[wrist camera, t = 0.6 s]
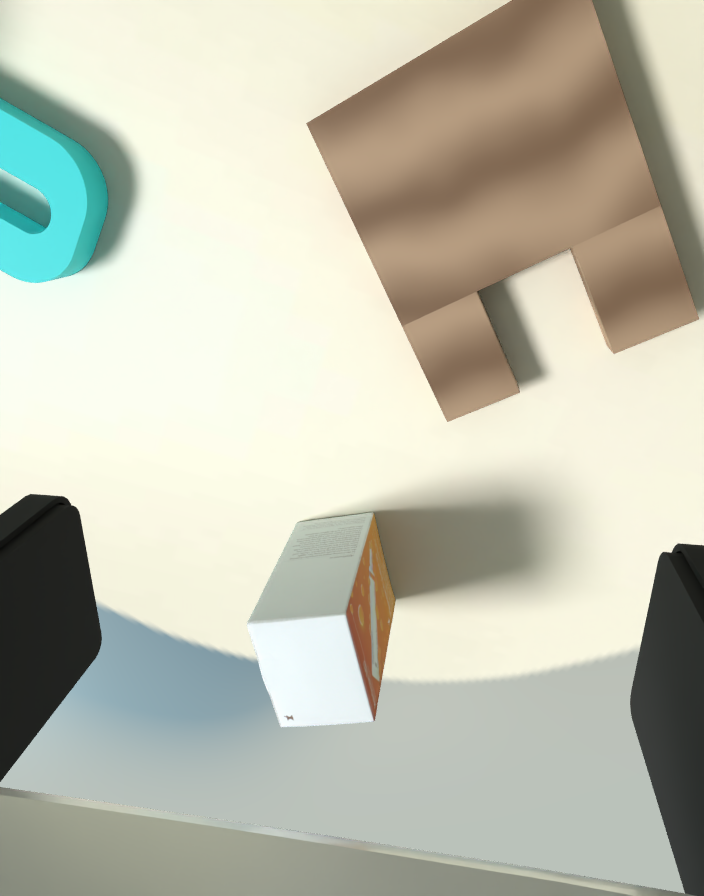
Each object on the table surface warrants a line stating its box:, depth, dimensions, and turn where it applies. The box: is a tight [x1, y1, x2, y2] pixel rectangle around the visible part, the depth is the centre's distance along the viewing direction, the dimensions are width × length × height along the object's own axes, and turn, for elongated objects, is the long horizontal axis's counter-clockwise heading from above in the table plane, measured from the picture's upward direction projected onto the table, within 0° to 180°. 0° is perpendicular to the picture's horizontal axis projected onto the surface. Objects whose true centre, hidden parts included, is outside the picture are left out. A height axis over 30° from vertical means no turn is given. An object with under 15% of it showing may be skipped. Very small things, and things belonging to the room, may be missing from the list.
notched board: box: [306, 0, 699, 422], centre depth 39 cm, size 20×16×2 cm
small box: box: [247, 512, 395, 727], centre depth 45 cm, size 8×6×13 cm
